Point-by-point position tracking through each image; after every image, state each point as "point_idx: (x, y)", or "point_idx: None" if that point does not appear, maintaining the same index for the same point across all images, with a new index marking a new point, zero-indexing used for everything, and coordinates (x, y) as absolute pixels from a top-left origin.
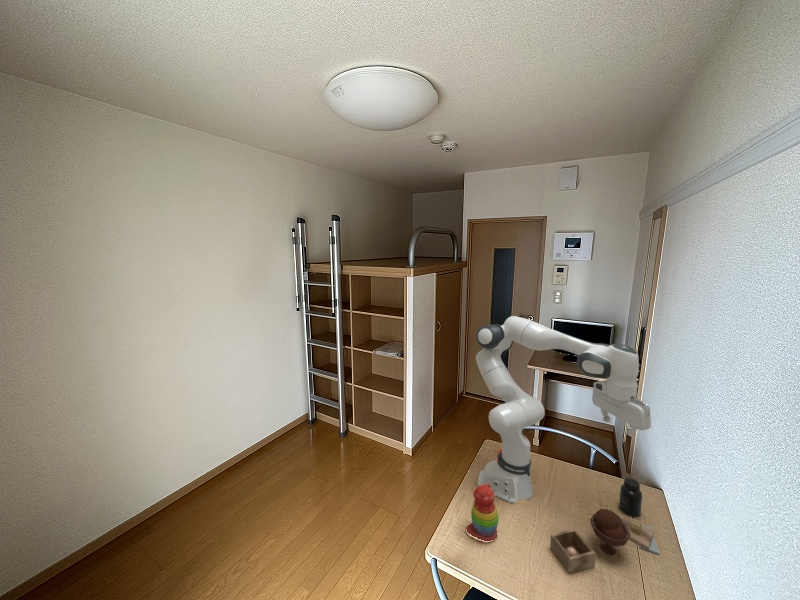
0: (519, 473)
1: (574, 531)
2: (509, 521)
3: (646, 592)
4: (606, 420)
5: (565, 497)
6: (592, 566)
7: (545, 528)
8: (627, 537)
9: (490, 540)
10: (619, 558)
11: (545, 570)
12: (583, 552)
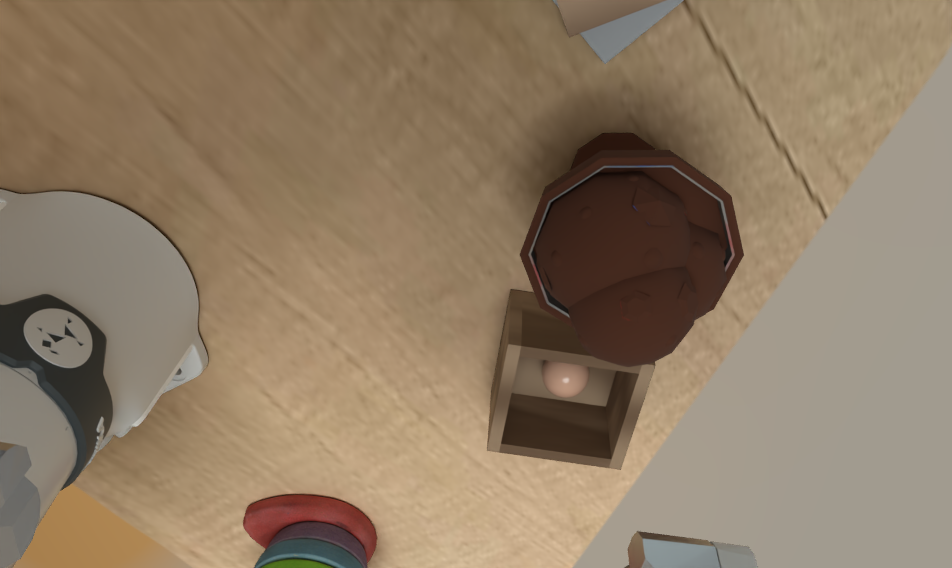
0: (107, 431)
1: (521, 354)
2: (303, 432)
3: (831, 206)
4: (2, 558)
5: (223, 62)
6: None
7: (388, 330)
8: (734, 237)
9: (374, 548)
10: None
11: None
12: None
